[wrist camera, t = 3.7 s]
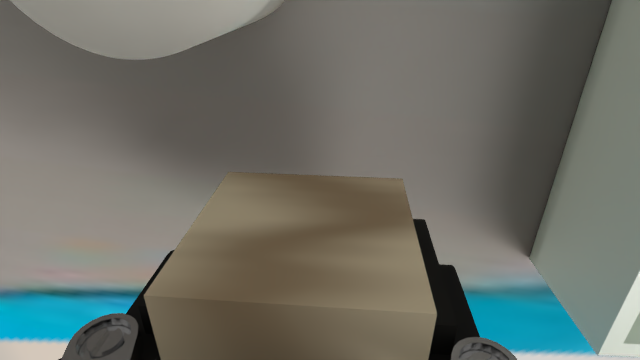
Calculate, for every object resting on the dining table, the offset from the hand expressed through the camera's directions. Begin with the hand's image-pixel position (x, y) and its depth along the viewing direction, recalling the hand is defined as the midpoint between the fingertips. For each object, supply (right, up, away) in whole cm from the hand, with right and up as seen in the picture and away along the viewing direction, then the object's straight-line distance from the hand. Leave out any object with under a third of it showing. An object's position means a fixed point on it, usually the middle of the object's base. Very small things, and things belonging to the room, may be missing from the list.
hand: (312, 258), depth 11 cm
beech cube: (0, 0, 0) cm, 1 cm away
